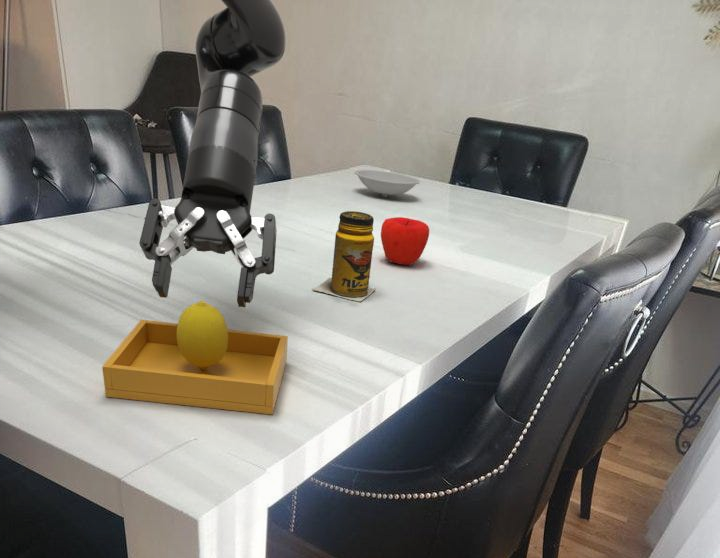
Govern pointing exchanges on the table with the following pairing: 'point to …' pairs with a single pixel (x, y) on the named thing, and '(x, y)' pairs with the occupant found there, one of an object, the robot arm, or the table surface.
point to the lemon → (202, 335)
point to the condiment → (351, 258)
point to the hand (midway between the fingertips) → (201, 299)
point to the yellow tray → (197, 370)
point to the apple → (404, 239)
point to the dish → (386, 182)
